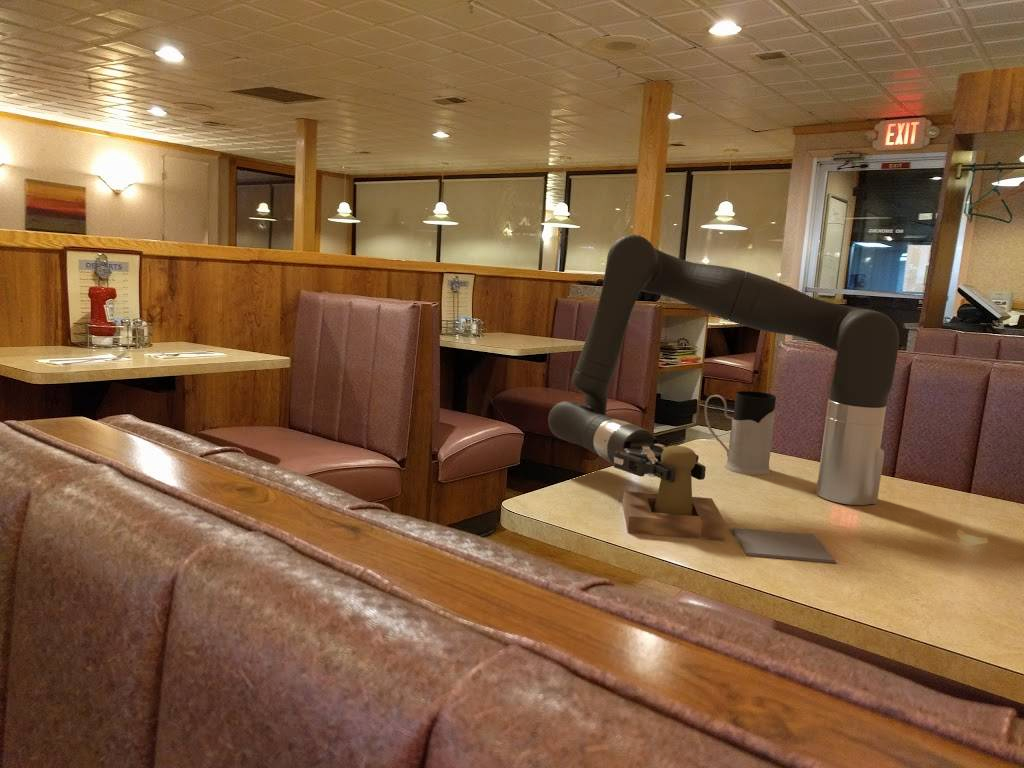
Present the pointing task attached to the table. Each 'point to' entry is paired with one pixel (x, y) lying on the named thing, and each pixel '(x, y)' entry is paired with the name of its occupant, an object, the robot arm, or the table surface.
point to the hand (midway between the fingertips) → (688, 474)
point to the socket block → (673, 518)
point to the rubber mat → (782, 545)
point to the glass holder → (749, 432)
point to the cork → (676, 482)
